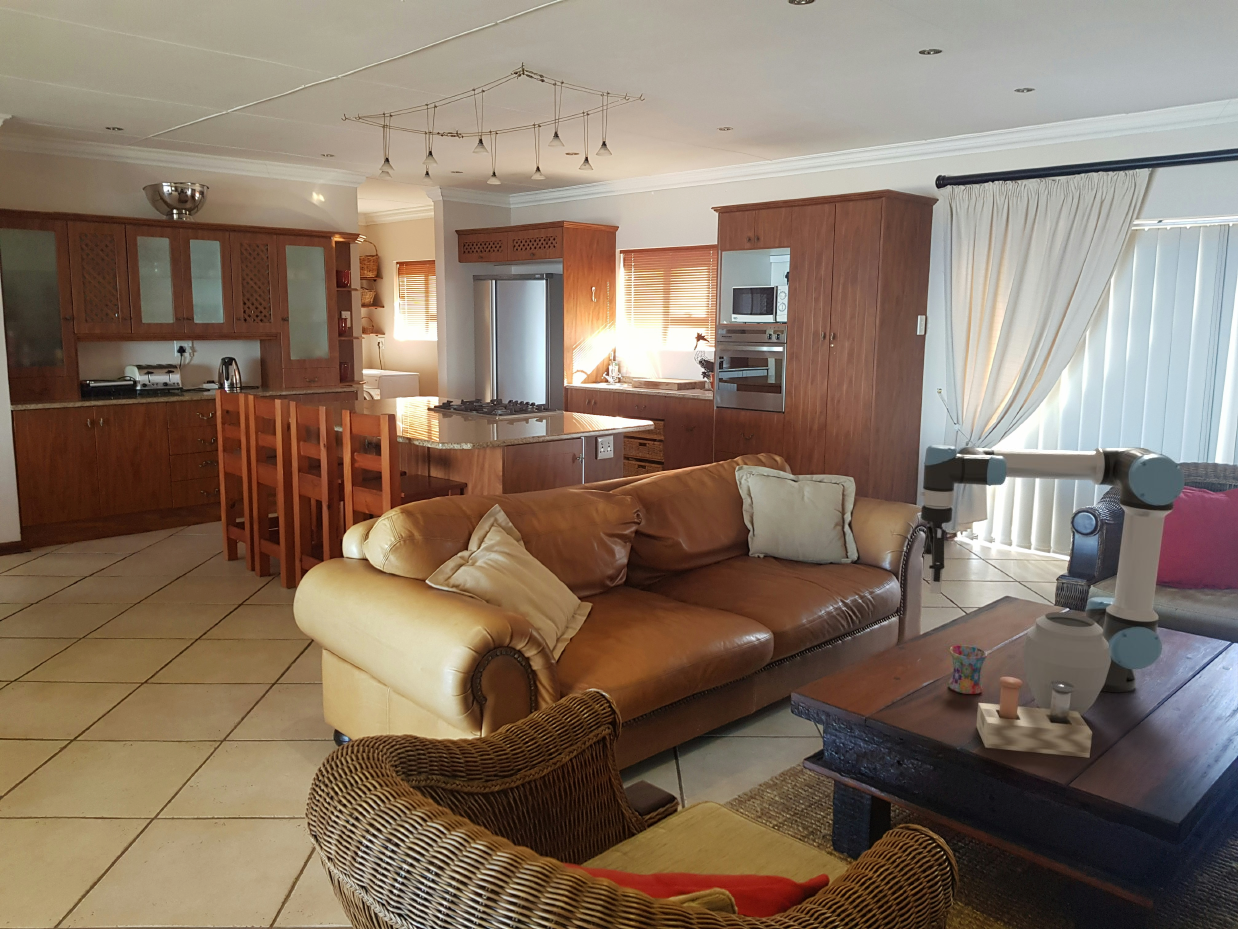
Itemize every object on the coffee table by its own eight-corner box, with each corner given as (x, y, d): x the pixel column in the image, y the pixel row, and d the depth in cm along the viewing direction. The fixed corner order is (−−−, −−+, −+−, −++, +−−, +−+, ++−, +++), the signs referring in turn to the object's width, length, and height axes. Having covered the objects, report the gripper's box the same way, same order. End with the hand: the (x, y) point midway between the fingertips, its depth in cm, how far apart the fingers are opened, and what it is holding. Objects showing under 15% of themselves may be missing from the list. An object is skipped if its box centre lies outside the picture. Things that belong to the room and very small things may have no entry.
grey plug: (1066, 718, 211) (1070, 682, 210) (1072, 727, 207) (1076, 690, 205) (1044, 716, 212) (1048, 680, 211) (1050, 725, 208) (1053, 688, 206)
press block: (1075, 735, 215) (1077, 711, 214) (1089, 757, 204) (1092, 732, 203) (976, 726, 219) (978, 702, 218) (985, 747, 208) (987, 722, 207)
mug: (973, 700, 234) (977, 660, 232) (940, 689, 241) (942, 650, 239) (995, 687, 242) (998, 649, 240) (961, 677, 249) (964, 640, 247)
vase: (1100, 738, 214) (1111, 639, 210) (1011, 718, 224) (1020, 622, 220) (1107, 708, 230) (1117, 615, 226) (1024, 690, 240) (1032, 601, 236)
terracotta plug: (1016, 713, 214) (1019, 677, 212) (1021, 722, 209) (1024, 686, 207) (994, 711, 214) (997, 676, 213) (999, 720, 210) (1002, 684, 208)
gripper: (916, 495, 247) (911, 571, 250) (927, 515, 223) (922, 598, 226) (945, 496, 245) (939, 573, 249) (960, 516, 221) (954, 601, 225)
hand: (931, 585), depth 238 cm, fingers open, 13 cm apart
